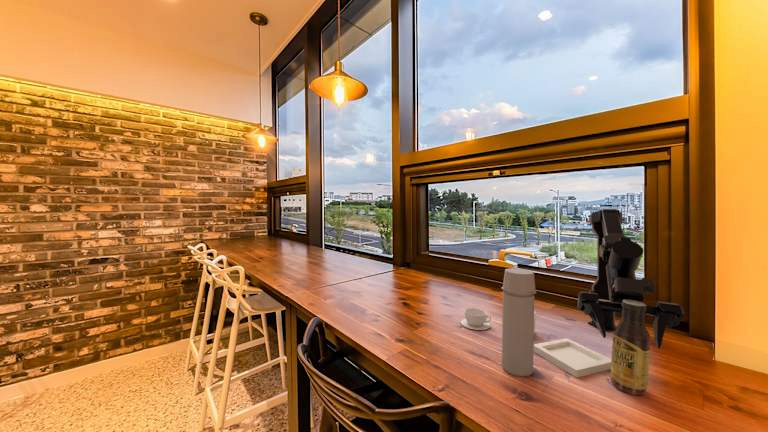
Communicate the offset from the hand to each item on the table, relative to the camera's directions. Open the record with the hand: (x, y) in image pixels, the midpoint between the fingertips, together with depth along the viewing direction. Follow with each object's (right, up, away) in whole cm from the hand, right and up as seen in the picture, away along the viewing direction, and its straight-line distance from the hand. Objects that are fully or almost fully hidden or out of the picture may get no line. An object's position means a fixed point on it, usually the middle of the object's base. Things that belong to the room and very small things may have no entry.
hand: (630, 342), depth 62 cm
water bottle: (-21, -11, +9) cm, 25 cm away
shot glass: (-9, -10, +29) cm, 32 cm away
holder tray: (-5, -10, +13) cm, 17 cm away
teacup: (-23, -10, +35) cm, 43 cm away
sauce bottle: (0, -11, +1) cm, 11 cm away
